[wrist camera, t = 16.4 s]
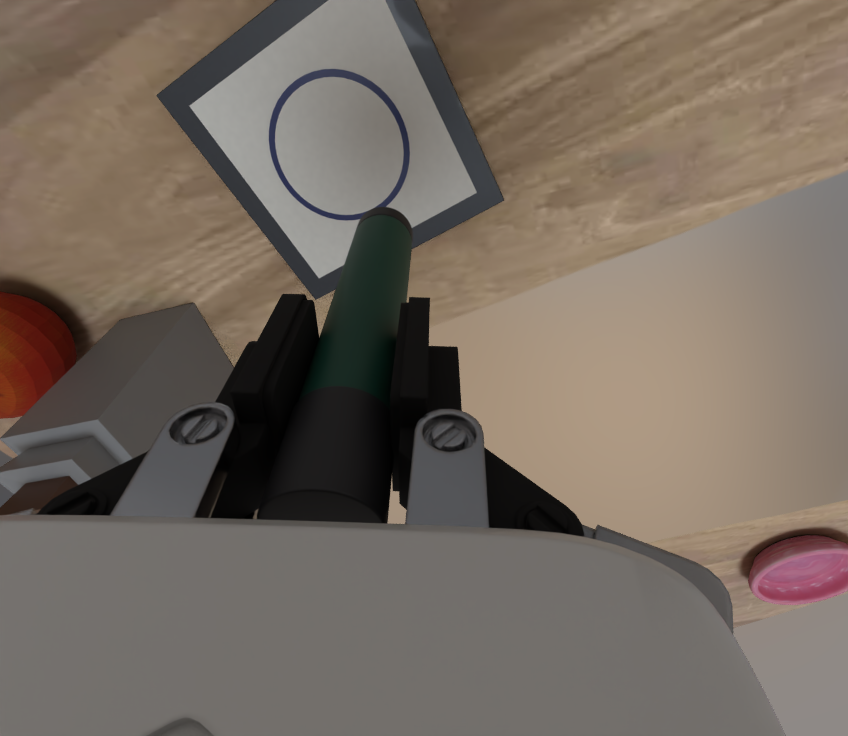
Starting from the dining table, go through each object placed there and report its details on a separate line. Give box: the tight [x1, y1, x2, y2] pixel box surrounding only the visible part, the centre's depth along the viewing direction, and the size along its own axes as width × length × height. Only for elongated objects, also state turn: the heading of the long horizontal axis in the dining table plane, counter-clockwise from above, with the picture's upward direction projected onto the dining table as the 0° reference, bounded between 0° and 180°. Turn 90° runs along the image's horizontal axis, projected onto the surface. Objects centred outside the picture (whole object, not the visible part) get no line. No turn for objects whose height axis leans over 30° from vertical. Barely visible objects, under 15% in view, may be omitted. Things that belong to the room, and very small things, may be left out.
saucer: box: [748, 535, 848, 605], centre depth 57 cm, size 12×12×3 cm
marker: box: [257, 207, 413, 524], centre depth 13 cm, size 2×2×13 cm
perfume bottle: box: [0, 303, 234, 515], centre depth 33 cm, size 7×7×18 cm
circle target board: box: [157, 0, 504, 300], centre depth 30 cm, size 16×16×1 cm
